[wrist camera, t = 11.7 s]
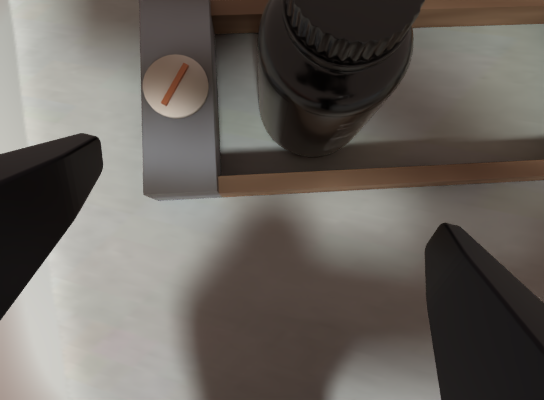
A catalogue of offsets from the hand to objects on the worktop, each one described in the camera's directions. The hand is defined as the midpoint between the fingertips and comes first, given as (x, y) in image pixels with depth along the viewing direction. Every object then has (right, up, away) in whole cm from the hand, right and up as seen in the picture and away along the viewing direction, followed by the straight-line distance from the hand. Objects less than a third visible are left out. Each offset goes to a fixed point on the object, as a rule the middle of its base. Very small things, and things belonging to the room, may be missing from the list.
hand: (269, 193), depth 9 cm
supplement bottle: (+3, +6, +15) cm, 16 cm away
